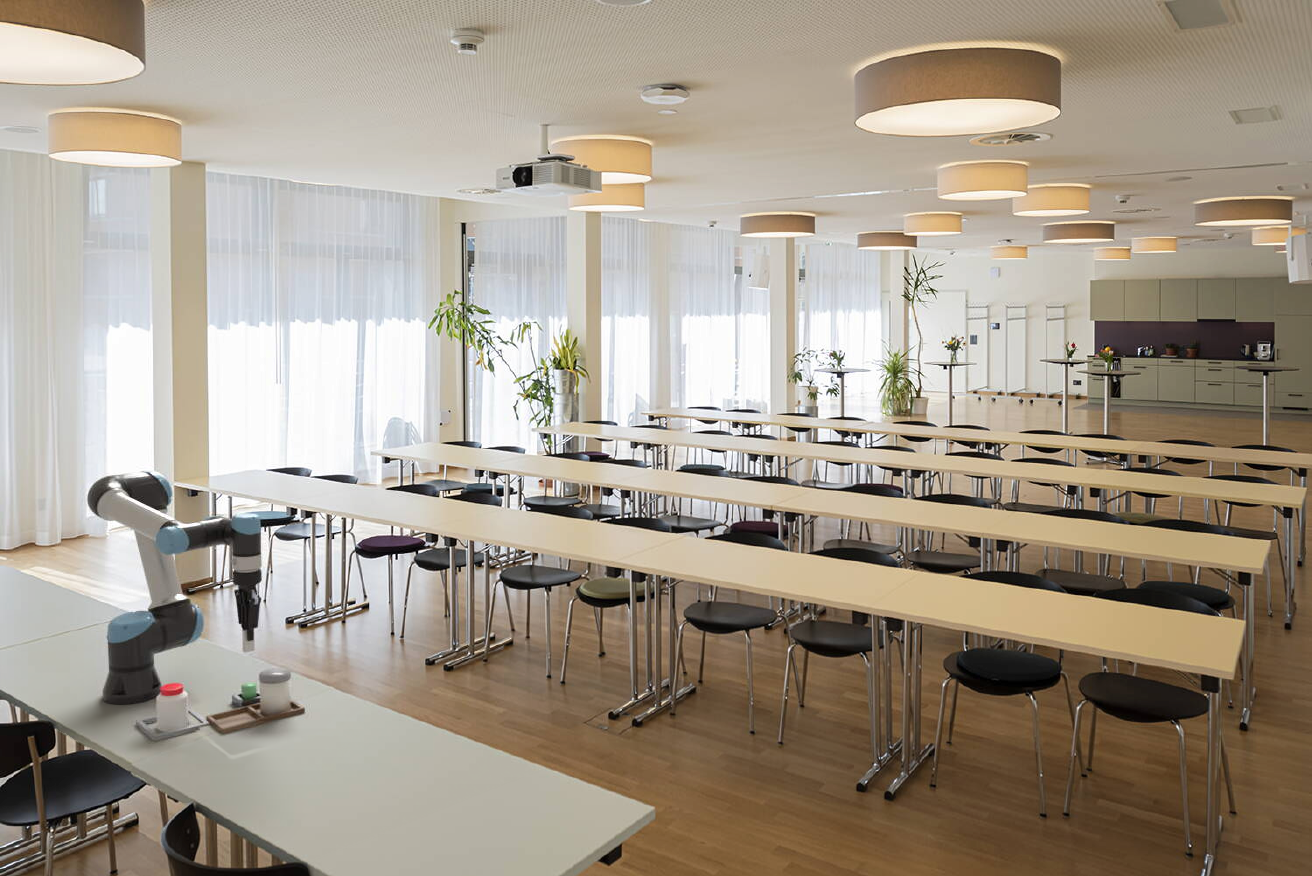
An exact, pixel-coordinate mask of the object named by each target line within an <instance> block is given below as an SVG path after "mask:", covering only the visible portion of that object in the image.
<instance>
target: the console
mask: <svg viewBox="0 0 1312 876" xmlns="http://www.w3.org/2000/svg"><path fill="white" fill-rule="evenodd" d="M231 703H232V704H233V705H235V706H236V707H237V708H240V707H244V706H248V705H252V704H256V703H260V689H259V690H258V689H257V697H254V698H250V699H246V700H243V699H242V691H240V692H239V693H235V694H234V693H233V694H231Z"/></svg>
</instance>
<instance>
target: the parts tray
mask: <svg viewBox="0 0 1312 876" xmlns="http://www.w3.org/2000/svg"><path fill="white" fill-rule="evenodd" d="M188 712H189V714H191V715H193V717H195V718H196V719H197V720H198V721H200V722H201V723H198V724H193V725H190V726H189V725H188V726H187V727H185V728H181V729H177V730H173V731H169V732H162V733H158V734H157V733H156V732H155V731H153V730H152V728H150V727H149V726H148V725H147V724H150V723H156V722H157V715H154V716H148V717H144V718H141V719H137V720H136V721H135V723H136V724H135V725H136V726H137V727H138V728H139V729H140V730H141V731H143V733H145V734H146V735H147V736H148V738H150V739H151V740H152V741H154V742H156V741H160V740H164V739H168V738H172V737H176V736H179V735H180V734H181V735H183V733H184V734H188V733H192V732H195V731H200V730H201V728H200V727H204V726H208V725H211V724H210V723H209V722H208V721H207V720H206V718H204V717H203V716H201V715H200V714H199V713H198V712H197V711H195V709H193V708H192V707H188Z"/></svg>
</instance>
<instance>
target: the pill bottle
mask: <svg viewBox="0 0 1312 876" xmlns="http://www.w3.org/2000/svg"><path fill="white" fill-rule="evenodd" d="M188 708H189V693H188V692H187V691H186V690H184V684H183V683H178V682H171V683H166V684H164V685H162V687H161V693H160V694H159V695H158V696H156V697H155V709H156V712H155V713H156V716H157V721H156V729H157V731H158V732H159V731H160V732H162V733H165V732H169V731H173V730H177V729H181V728H185V727H189V724H190V720H189V719H190V718H189V716H190V712H189V711H188Z"/></svg>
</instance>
